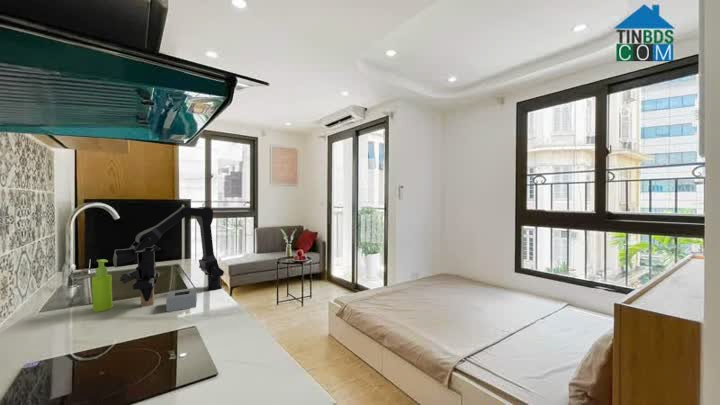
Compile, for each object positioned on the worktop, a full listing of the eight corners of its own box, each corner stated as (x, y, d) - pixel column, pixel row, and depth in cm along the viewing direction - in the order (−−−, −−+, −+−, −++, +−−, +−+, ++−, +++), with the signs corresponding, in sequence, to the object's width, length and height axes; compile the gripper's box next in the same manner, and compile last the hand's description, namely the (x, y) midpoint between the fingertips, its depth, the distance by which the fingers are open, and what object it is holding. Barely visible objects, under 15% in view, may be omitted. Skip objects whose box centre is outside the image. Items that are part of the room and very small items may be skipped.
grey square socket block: (169, 303, 122) (169, 291, 122) (196, 299, 127) (196, 288, 127) (166, 311, 113) (166, 299, 113) (196, 307, 118) (195, 294, 118)
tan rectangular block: (142, 304, 122) (142, 287, 122) (154, 302, 124) (153, 286, 123) (141, 306, 119) (140, 289, 119) (152, 305, 121) (152, 288, 121)
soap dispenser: (97, 313, 113) (95, 262, 112) (90, 310, 116) (88, 260, 116) (116, 308, 118) (114, 259, 117) (108, 305, 121) (107, 257, 121)
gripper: (127, 260, 126) (128, 296, 126) (115, 270, 109) (116, 311, 109) (158, 257, 131) (159, 292, 131) (151, 266, 114) (152, 306, 114)
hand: (147, 299), depth 121 cm, fingers closed on tan rectangular block, 3 cm apart
